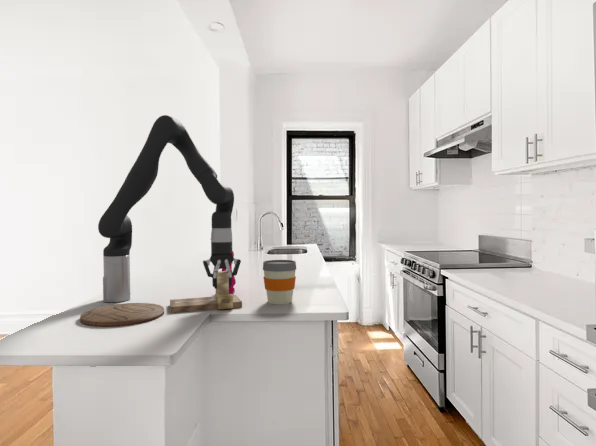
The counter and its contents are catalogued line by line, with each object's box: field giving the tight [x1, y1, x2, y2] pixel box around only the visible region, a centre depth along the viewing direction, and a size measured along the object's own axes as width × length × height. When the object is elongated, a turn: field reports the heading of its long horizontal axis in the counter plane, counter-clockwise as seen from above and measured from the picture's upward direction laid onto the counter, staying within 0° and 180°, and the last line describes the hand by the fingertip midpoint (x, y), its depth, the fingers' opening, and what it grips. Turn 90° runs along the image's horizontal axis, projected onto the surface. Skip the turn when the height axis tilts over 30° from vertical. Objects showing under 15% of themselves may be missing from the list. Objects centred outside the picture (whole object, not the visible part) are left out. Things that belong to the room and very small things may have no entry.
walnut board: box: [169, 294, 243, 314], centre depth 147 cm, size 24×12×2 cm, turn 108°
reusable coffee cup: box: [262, 259, 297, 305], centre depth 153 cm, size 12×13×15 cm
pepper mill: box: [221, 250, 237, 295], centre depth 171 cm, size 7×7×20 cm
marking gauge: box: [215, 270, 234, 310], centre depth 147 cm, size 5×13×11 cm, turn 18°
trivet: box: [79, 302, 165, 328], centre depth 133 cm, size 25×25×2 cm
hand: (222, 287), depth 148 cm, fingers closed on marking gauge, 4 cm apart
